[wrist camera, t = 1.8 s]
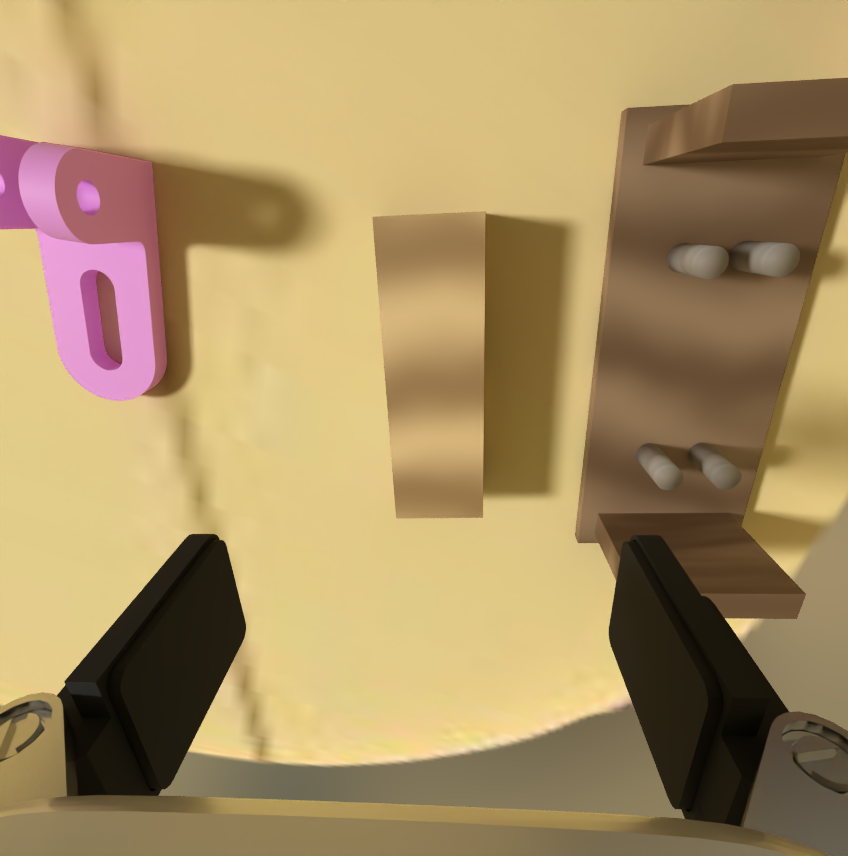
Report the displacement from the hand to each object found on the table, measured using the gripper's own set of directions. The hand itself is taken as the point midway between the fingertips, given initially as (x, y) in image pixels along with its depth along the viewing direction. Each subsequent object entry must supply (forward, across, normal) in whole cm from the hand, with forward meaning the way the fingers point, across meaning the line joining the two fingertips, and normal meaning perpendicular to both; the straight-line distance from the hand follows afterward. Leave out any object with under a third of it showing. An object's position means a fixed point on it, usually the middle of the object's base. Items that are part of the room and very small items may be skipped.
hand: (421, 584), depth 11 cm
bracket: (+18, +18, -5) cm, 26 cm away
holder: (+18, -14, 0) cm, 23 cm away
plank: (+18, 0, 0) cm, 18 cm away
